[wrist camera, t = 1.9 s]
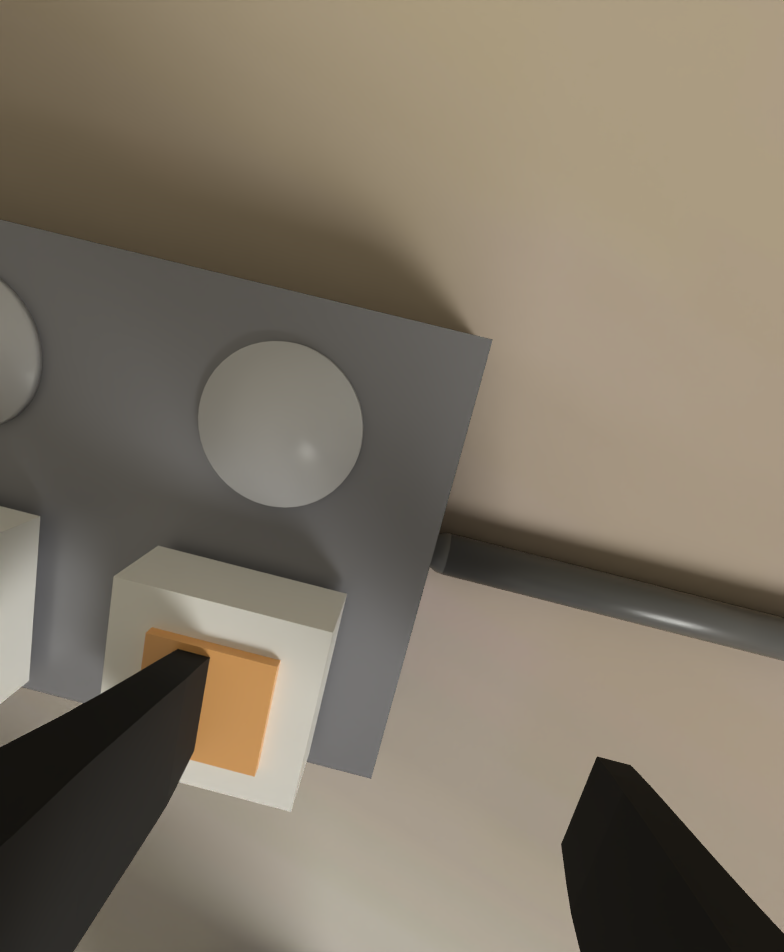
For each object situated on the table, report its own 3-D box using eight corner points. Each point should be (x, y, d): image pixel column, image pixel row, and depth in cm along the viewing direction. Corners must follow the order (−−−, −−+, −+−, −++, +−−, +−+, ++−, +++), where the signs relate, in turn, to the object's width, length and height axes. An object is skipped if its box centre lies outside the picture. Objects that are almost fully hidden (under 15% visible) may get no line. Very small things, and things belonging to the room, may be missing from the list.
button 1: (309, 753, 11) (287, 821, 10) (136, 708, 11) (86, 767, 10) (347, 593, 10) (331, 639, 9) (158, 545, 10) (107, 580, 9)
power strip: (771, 807, 14) (851, 912, 11) (-299, 529, 14) (-461, 567, 12) (954, 458, 11) (1110, 489, 9) (-340, 142, 12) (-554, 83, 9)
